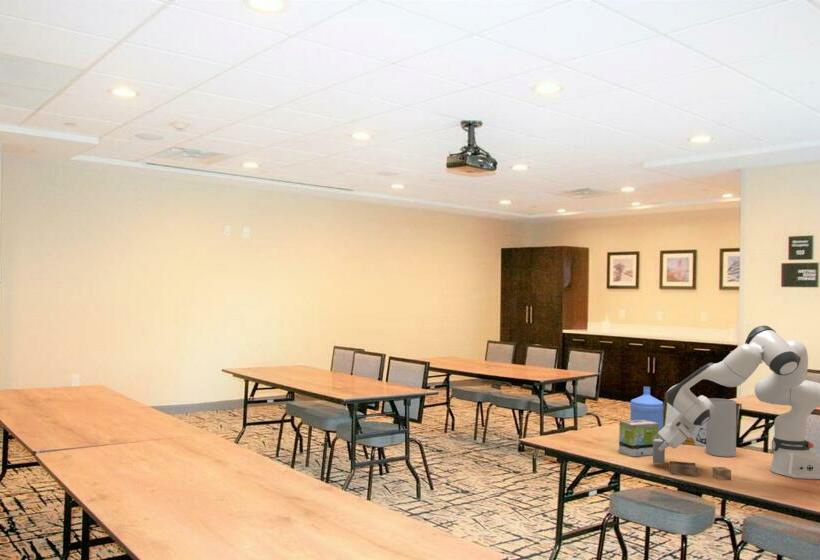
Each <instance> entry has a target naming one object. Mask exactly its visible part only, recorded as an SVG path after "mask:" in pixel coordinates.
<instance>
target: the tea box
mask: <svg viewBox="0 0 820 560" xmlns="http://www.w3.org/2000/svg"><path fill="white" fill-rule="evenodd" d="M658 429H659V424H658V423H655V422H651V421H647V420H632V421H630V420H620V421H619V433H618V435H619V436H618V438H619V439H618V452H619V453H621V454H622V455H626V456H629V457H640V456H641V457H642V456H653V440H654V439H658Z"/></svg>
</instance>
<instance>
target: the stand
mask: <svg viewBox="0 0 820 560" xmlns="http://www.w3.org/2000/svg"><path fill="white" fill-rule="evenodd" d="M669 472H670V474H671V475H673V476H674V475H675V476H683V477H684V476H685V477H686V476H687V477H695V478H696V477H697V478H698V477H699V467H697V465H696V463H695V462H687V461H673V460H672V461H671V460H669Z"/></svg>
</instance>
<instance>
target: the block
mask: <svg viewBox="0 0 820 560" xmlns="http://www.w3.org/2000/svg"><path fill="white" fill-rule="evenodd" d="M712 478H714V479H717V480H718V481H732V470H731V469H730V468H728V467H726V466H712Z"/></svg>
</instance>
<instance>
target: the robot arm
mask: <svg viewBox="0 0 820 560" xmlns="http://www.w3.org/2000/svg"><path fill="white" fill-rule="evenodd" d="M763 363H764V364H765V365H766V366H767V367H769V368H768V369H769V370H770V371H771V372H772V373H771V374H770V375H768V376H767V377H764V378H760V379H759V380H758V381H757V382H756V383H755V386H754V394H755V396H756V398H757V400H759V402H762V403H766V404H770V405H780V406H790V407H791V409H790V410H789V411H787V412H784V413H781V414H779V415H778V416H776V417H775V418H774V421H773V422H774V424H773V425H774V429H773V430H774V436H773V437H772V438H773V440H772V449H773V450H772V451H773V455H772V462H771V465H770V467H769V470H770V472H772V473H775V474H777V475H780V476H781V475H782V476H786V477H790V478H793V479H808V480H809V479H810V480H812V479H813V480H820V456H819V455H817V454H816V453H815V452H814V451H812V450H811V449H813V448H815V444H814V443H813V442H812V441H811V442H809V441H808V440H807V439H806V424H807V420H808V418H809V416H810V415H811V413H813V411H814V410H815V409H817V408H818V407H820V382H816V381H813V380H808V379H807V376H808V368H809V367H808V366H809V356H808V350H807V347H806V346H805V345H804V343H802V342H801V341H799V340H795V339H788V340H784V339H783V338H782V337H781V336H780V335H779V334H778V333H777V332H776V330H775V329H773V328H772V327H770V326H769V325H759V326H757V327H754V328H753V329H751V331H749V333H748V335H747V337H746V339H745V342H744V343H743V344H741V345H739V346H737V347H736V348H735V349H734V350H732V351H731V352H730V353H728V355H726V357H724V358H723V360H722V361H719V362H717V363H714V362H709V363H706V364H705V365H703V366H702V367H700V368H698V369H697V370H696V371H694V372H693V373H691V374H690V375H689V376H687V377H686V378H685V379H683V380H681V382H679V383H677V384H675V385H672V386H671V387H670V388H669V389H668V390H667V391H666V392H665V400H666V402H667V403H668V405H670V406H671V407H672V408H674V409H675V410H676V411H677V412H678V413H677V414H676V415H675V416H674V417H673V418H672V419H671V420H670V422H669V423H667V424H665V425H663V428H662V429H661V430H660V431H659V432H658V435H659V436H660V438H659V439H662V440H664V443H663V444H662V445H661V446H659V447H658V449H659V451H663V450H664V449H665V450H666V449H667V448H669V447H672V449H676V448H678V447H680V446H681V445H682V443H683V442H684V441H685V440H686V439H687V438H690V437H691V436H692V431H693V430H694V429H695V428H696V426H697V425H699V426H702V425H703V424H704V423H705V422H706V421H707V420H708V419H710V414H711V413H712V411H713V410H714V408H715V407H714V404H713V403H712V402H711V401H710V400H709V399H710V398H709V397H707V396H705V395H703V394H702V395H701V394H700V395H699V396H698V397H697V395H695V394H694V393H693V392H692V391H691V389H690V388H692V387H693V386H695V385H696V384H697V383H699V382H701V381H702V380H709V381H711V382H714V383H716V384H718V385H721V386H724V387H727V388H735V387H739V386H741V385H742V384H744V383H745V382H747V380H749V378H750V377H751V376H752V374H753V373H755V371H756V370H757V369H758V367H759V366H760V364H763Z"/></svg>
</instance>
